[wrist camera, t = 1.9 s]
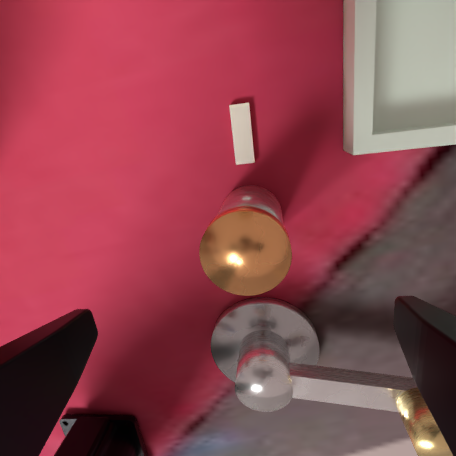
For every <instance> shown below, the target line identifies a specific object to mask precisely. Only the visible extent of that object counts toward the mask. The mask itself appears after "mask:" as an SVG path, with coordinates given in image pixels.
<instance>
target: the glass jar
mask: <svg viewBox="0 0 456 456" xmlns="http://www.w3.org/2000/svg"><path fill="white" fill-rule="evenodd" d="M199 255H200V261H201V265H202V267H203V270H204V271H205V273H206V275H207V276H208V278H209V279H210V280H211V281H212V282H213V283H214V284H215V285H217V286H218V287H220V288H221V289H223V290H225V291H227V292H230V293H232V294H236V295H243V296H251V295H258V294H262V293H265V292H267V291H269V290H271V289H273V288H274V287H276V286H277V285H278V284H279V283H280V282H281V281H282V280H283V279H284V277H285V276H286V274H287V272H288V270H289V268H290V265H291V259H292V252H291V245H290V240H289V236H288V233H287V231H286V229H285V227H284V224H283V218H282V211H281V206H280V204H279V201H278V200H277V198H276V197H275V196H274V195H273V194H272V193H271V192H270V191H269V190H267V189H265V188H263V187H260V186H255V185H247V186H242V187H239V188H237V189H235V190H234V191H232V192H231V193H230V194H229V195H228V196H227V197H226V199H225V200H224V202H223V204H222V206H221V209H220V211H219V213H218V215H217V216H216V217H215V218H214V219H213V220H212V221H211V223H210V224H209V226H208V227H207V229H206V231H205V233H204V235H203V237H202V240H201V243H200V250H199Z"/></svg>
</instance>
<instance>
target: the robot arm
mask: <svg viewBox="0 0 456 456" xmlns="http://www.w3.org/2000/svg"><path fill="white" fill-rule="evenodd" d="M394 329H395V332H396V335H397V337H398V340H399V343H400V345H401V348H402V350H403V353H404V355H405V358H406V361H407V363H408V366H409V368H410V371H411V373H412V376H413V378H414V381H415V383H416V385H417V387H418V389H419V391H420V393H421V395H422V397H423V399H424V401H425V403H426V405H427V407H428V409H429V410H430V412H431V414H432V416H433V418H434V420H435V422H436V424H437V426H438V428H439V430H440V431H441V433H442V435H443V437H444V439H445V441H446V443H447V445H448V447H449V449H450V451H451V452H452V454H453V456H456V316H454V315H452V314H450V313H448V312H445V311H443V310H441V309H439V308H437V307H435V306H433V305H431V304H429V303H427V302H425V301H423V300H421V299H418V298H416V297H414V296H398V297H397V298H396V299H395V307H394ZM97 336H98V331H97V327H96V324H95V321H94V318H93V314H92V312H91V311H90V310H89V309H77V310H74V311H72V312H70V313H68V314H66V315H64V316H62V317H60V318H58V319H56V320H54V321H52V322H50V323H48V324H46V325H44V326H42V327H40V328H38V329H36V330H34V331H31V332H29V333H27V334H25V335H23V336H21V337H19V338H17V339H15V340H13V341H11V342H9V343H7V344H5V345H3V346H1V347H0V456H39V454H40V453H41V451H42V449H43V447H44V445H45V443H46V441H47V440H48V438H49V436H50V434H51V432H52V430H53V428H54V427H55V425H56V423H57V421H58V419H59V417H60V416H61V414H62V412H63V410H64V408H65V406H66V404H67V403H68V401H69V399H70V397H71V395H72V393H73V392H74V390H75V388H76V386H77V384H78V381H79V379H80V377H81V375H82V372H83V370H84V368H85V365H86V363H87V361H88V358H89V356H90V354H91V351H92V349H93V347H94V344H95V342H96V340H97ZM60 425H61V427H62V429H63V432H64V434H65V438H64V440H63V442H62V443H61V445H60V446H59V448H58V450H57V451H56V453H55V454H54V456H147V453H146V450H145V446H144V443H143V440H142V436H141V433H140V430H139V426H138V423H137V420H136V418H134V417H133V416H125V415H64V416H63V417H62V418H61V420H60Z"/></svg>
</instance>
